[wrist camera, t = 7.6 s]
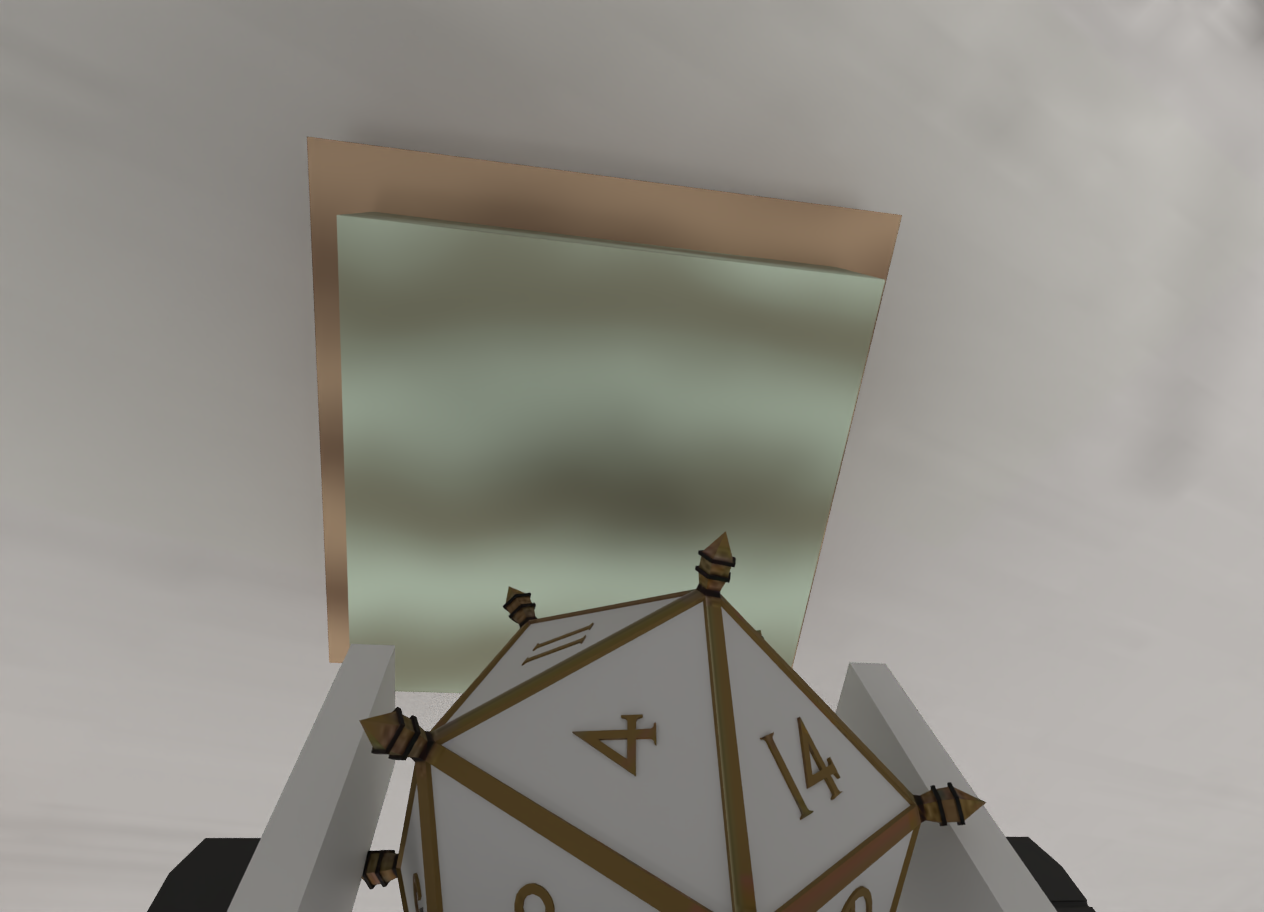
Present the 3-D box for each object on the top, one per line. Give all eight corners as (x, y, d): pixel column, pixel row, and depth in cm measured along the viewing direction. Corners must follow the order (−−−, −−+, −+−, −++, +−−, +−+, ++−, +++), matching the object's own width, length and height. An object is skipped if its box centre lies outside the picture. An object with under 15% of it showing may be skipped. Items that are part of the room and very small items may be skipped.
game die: (594, 507, 17) (764, 329, 7) (835, 759, 17) (1323, 904, 7) (281, 804, 14) (-105, 1146, 4) (573, 1122, 13) (842, 2220, 4)
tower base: (344, 145, 25) (253, 124, 18) (856, 212, 28) (964, 218, 20) (356, 608, 32) (294, 733, 25) (764, 626, 35) (821, 743, 27)
